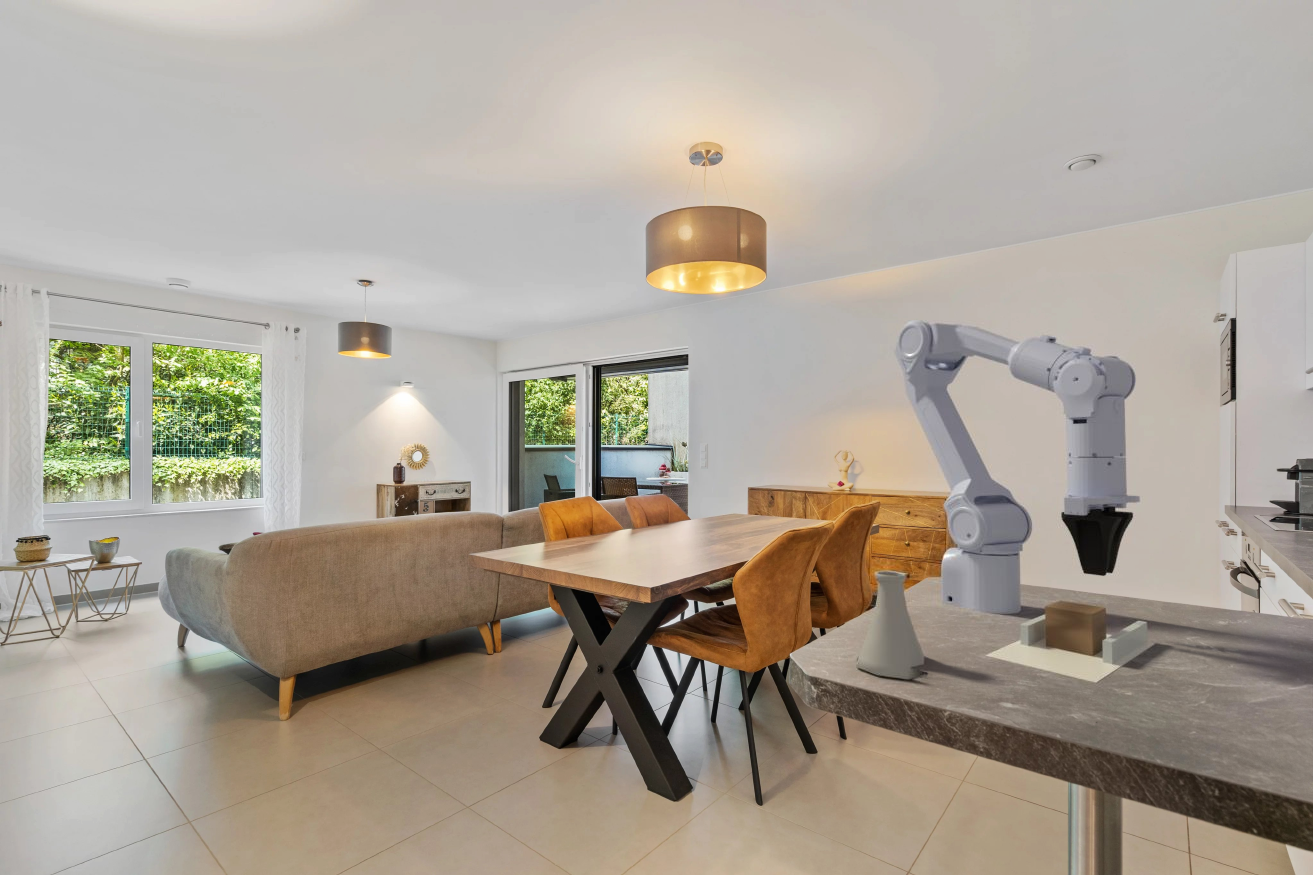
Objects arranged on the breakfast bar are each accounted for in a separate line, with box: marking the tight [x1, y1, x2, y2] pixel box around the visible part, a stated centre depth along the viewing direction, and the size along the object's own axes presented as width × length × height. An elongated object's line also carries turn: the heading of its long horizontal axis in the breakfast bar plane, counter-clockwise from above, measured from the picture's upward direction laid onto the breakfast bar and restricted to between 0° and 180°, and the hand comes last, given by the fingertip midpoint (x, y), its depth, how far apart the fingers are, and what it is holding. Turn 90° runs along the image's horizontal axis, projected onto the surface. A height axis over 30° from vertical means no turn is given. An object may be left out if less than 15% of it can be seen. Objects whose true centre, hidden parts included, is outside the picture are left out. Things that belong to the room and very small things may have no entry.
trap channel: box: [985, 613, 1156, 684], centre depth 68 cm, size 10×19×3 cm, turn 128°
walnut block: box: [1044, 600, 1107, 657], centre depth 69 cm, size 4×4×4 cm
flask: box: [855, 570, 928, 680], centre depth 66 cm, size 7×7×10 cm
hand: (1098, 573), depth 73 cm, fingers closed
